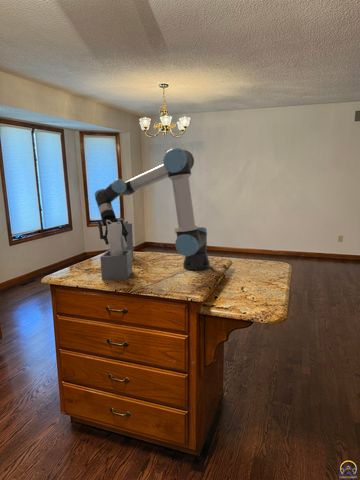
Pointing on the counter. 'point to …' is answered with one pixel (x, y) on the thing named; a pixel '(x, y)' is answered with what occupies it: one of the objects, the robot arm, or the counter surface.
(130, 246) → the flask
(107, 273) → the grey open box
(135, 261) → the counter surface
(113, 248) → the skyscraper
